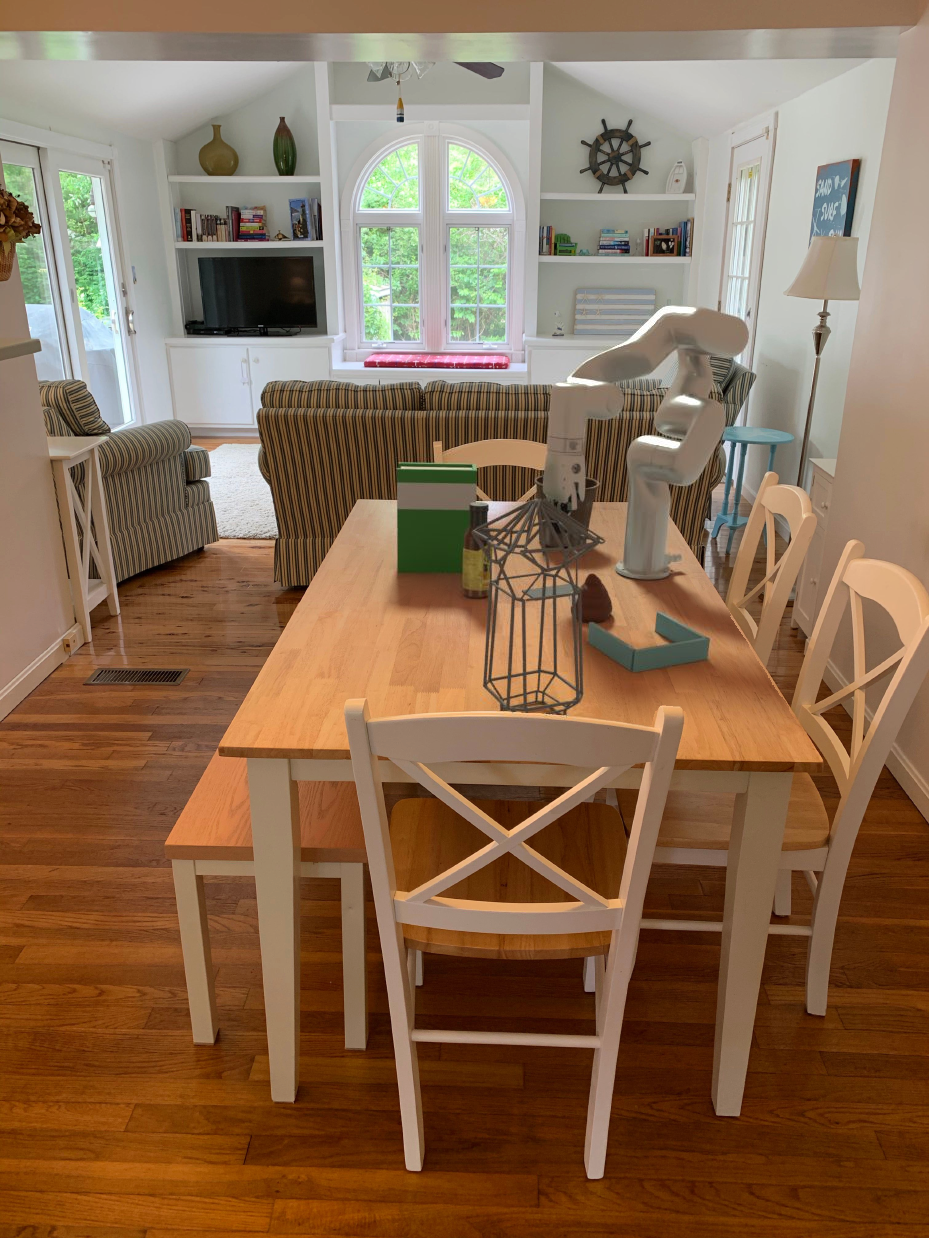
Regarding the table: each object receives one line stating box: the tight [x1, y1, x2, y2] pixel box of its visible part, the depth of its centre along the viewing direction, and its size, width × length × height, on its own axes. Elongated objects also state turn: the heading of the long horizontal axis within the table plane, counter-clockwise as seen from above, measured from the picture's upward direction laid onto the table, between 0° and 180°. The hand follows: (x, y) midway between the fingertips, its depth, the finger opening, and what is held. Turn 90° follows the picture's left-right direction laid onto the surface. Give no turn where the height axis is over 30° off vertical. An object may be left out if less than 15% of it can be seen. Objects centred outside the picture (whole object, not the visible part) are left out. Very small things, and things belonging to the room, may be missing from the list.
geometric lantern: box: [471, 497, 606, 716], centre depth 142 cm, size 16×16×35 cm
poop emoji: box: [568, 573, 613, 624], centre depth 189 cm, size 10×8×9 cm
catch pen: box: [587, 611, 711, 673], centre depth 173 cm, size 16×15×4 cm
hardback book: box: [396, 461, 478, 575], centre depth 214 cm, size 18×7×24 cm, turn 91°
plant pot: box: [534, 475, 600, 548], centre depth 238 cm, size 16×16×16 cm
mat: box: [521, 583, 573, 598], centre depth 204 cm, size 12×6×1 cm, turn 115°
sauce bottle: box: [461, 501, 494, 599], centre depth 198 cm, size 7×6×20 cm
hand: (558, 532), depth 197 cm, fingers closed
